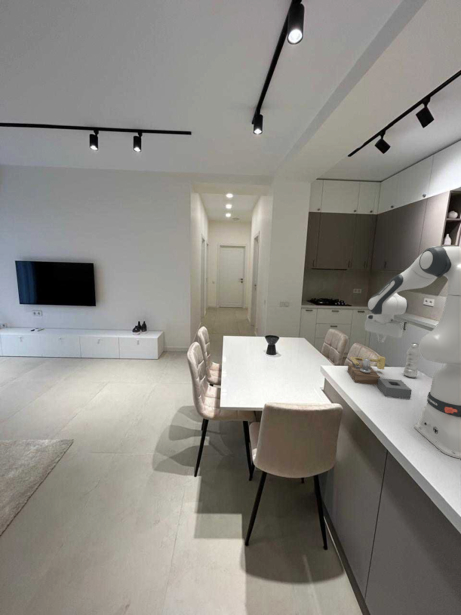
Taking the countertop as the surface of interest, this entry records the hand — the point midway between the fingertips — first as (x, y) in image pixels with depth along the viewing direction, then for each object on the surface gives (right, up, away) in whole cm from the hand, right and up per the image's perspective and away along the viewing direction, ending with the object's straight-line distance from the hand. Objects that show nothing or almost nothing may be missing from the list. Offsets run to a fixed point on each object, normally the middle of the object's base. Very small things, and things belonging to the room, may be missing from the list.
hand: (381, 342), depth 146 cm
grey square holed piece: (-3, -24, -15) cm, 28 cm away
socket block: (-10, -20, +1) cm, 23 cm away
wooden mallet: (-3, -17, +7) cm, 19 cm away
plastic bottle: (+20, -21, +6) cm, 30 cm away
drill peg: (-10, -21, -2) cm, 23 cm away
